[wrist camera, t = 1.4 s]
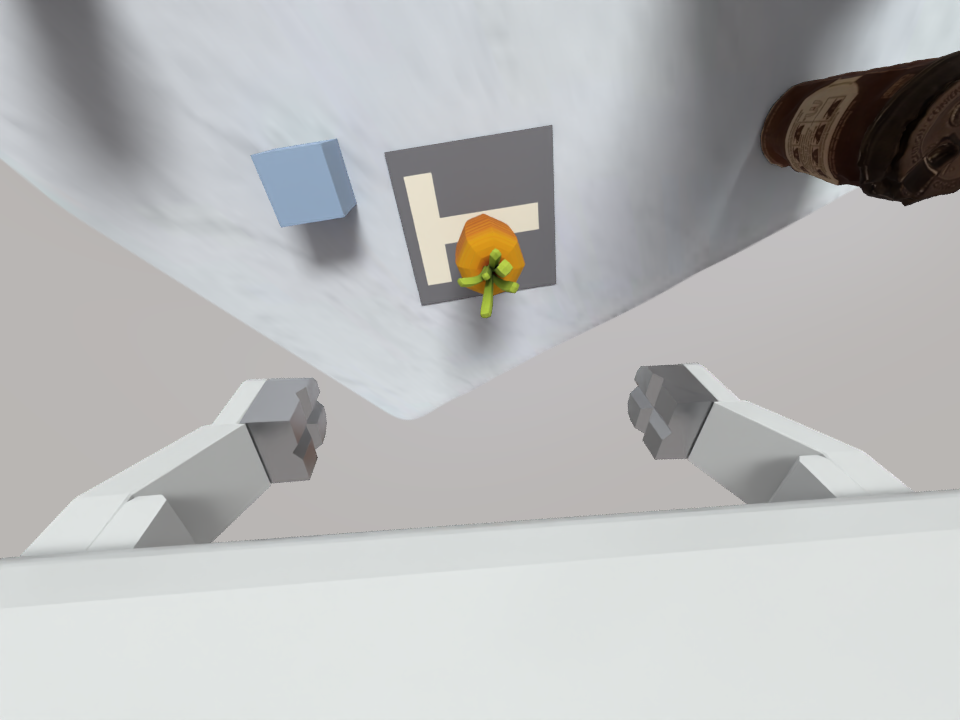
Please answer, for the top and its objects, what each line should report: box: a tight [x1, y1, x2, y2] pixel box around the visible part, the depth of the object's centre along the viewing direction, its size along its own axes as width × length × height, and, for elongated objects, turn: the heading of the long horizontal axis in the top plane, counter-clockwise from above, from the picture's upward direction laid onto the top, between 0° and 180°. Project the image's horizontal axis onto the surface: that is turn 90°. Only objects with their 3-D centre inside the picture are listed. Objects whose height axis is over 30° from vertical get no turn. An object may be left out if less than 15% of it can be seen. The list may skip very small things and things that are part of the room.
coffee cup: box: [761, 51, 960, 206], centre depth 27 cm, size 9×8×13 cm
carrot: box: [455, 214, 525, 318], centre depth 29 cm, size 5×5×15 cm
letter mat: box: [385, 125, 556, 305], centre depth 35 cm, size 14×14×1 cm
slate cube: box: [251, 139, 357, 227], centre depth 30 cm, size 5×5×5 cm
